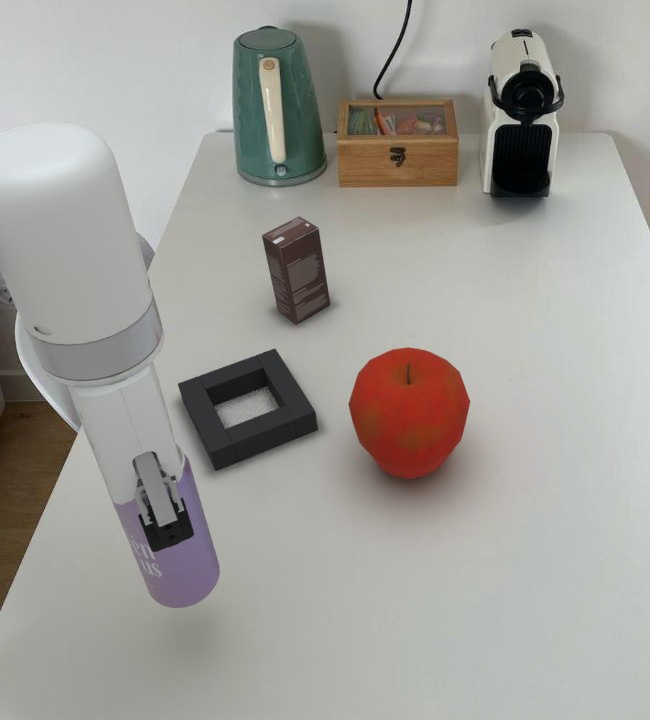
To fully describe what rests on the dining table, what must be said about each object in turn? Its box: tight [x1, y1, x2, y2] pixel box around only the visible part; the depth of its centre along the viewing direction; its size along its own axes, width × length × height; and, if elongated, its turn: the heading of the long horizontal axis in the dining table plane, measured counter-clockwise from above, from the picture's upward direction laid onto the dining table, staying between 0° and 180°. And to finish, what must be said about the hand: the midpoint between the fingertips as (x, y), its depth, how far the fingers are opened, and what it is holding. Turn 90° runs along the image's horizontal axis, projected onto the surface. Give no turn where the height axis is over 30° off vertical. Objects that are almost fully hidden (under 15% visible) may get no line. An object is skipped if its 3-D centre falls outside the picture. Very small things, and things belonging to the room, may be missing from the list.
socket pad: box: [177, 348, 319, 472], centre depth 92 cm, size 12×12×3 cm
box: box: [261, 215, 331, 324], centre depth 103 cm, size 6×4×12 cm
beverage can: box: [106, 442, 221, 609], centre depth 63 cm, size 6×6×15 cm
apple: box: [347, 347, 471, 480], centre depth 82 cm, size 12×12×14 cm
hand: (159, 507), depth 62 cm, fingers closed on beverage can, 6 cm apart
